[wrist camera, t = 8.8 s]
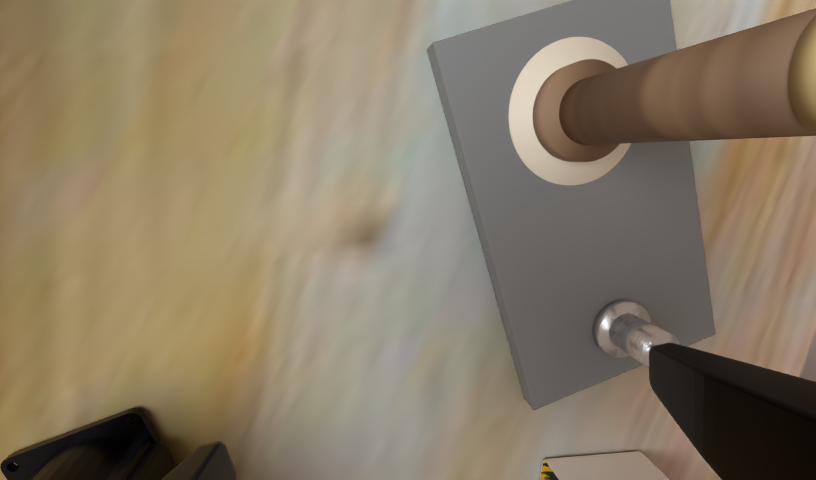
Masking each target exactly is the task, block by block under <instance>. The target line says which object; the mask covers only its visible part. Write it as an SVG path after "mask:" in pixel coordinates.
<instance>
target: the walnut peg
mask: <svg viewBox="0 0 816 480" xmlns="http://www.w3.org/2000/svg"><path fill="white" fill-rule="evenodd" d="M533 126H534V131H535V134H536V136H537V139H538V141H539V142H540V144H541V145H542V147H543V148H544V149H545V150H546V151H547V152H548V153H549V154H550V155H552V156H553V157H555V158H557V159H560V160H563V161H568V162H591V161H595V160H599V159H601V158H603V157H605V156H607V155H608V154H610V153H611V152H612V151H614V150H615V149H616V148H617V147H618V145H619V144H622V143H646V142H671V141H695V140H719V139H744V138H768V137H793V136H816V8H815V9H812V10H809V11H806V12H802V13H799V14H796V15H792V16H789V17H786V18H782V19H779V20H776V21H772V22H769V23H766V24H763V25H759V26H756V27H753V28H749V29H746V30H743V31H739V32H736V33H733V34H730V35H726V36H723V37H720V38H716V39H713V40H710V41H706V42H703V43H700V44H697V45H693V46H690V47H687V48H683V49H680V50H677V51H673V52H670V53H667V54H663V55H660V56H657V57H654V58H650V59H647V60H644V61H640V62H637V63H634V64H630V65H627V66H624V67H621V68H615V67H614V66H613V65H611V64H609V63H607V62H605V61H602V60H597V59H586V60H581V61H578V62H575V63H572V64H570V65H567V66H565V67H562V68H560V69H558V70H557V71H555V72H554V73H552V74H551V75H550V76H549V77H548V78H547V79H546V80H545V82H544V83H543V84H542V86H541V87H540V89H539V91H538V93H537V95H536V98H535V102H534V106H533Z"/></svg>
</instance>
